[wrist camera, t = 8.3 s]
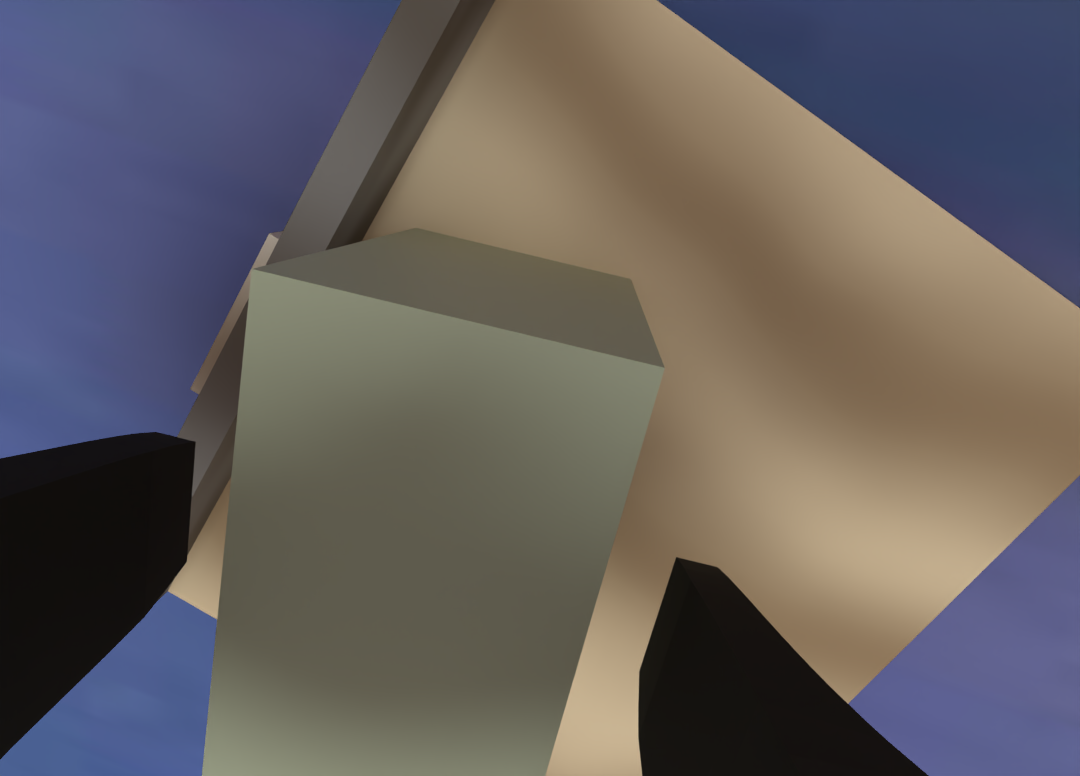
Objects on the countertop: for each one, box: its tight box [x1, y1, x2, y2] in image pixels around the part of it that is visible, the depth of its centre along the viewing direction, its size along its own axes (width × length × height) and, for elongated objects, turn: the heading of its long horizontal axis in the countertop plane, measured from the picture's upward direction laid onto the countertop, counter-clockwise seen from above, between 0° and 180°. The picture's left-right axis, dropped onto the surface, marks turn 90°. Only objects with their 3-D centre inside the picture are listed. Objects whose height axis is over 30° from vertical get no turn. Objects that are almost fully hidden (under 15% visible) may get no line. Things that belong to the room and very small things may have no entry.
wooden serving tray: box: [158, 0, 1080, 776], centre depth 15 cm, size 17×16×4 cm
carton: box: [202, 228, 665, 776], centre depth 12 cm, size 5×8×7 cm, turn 167°
